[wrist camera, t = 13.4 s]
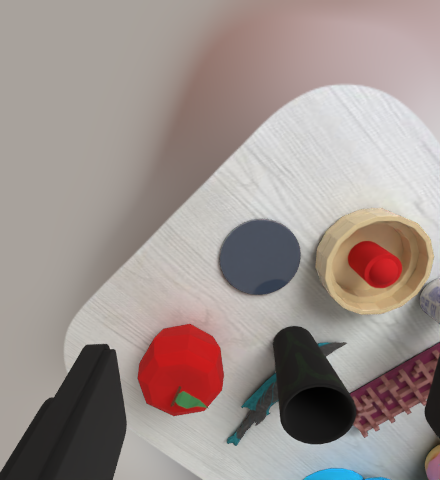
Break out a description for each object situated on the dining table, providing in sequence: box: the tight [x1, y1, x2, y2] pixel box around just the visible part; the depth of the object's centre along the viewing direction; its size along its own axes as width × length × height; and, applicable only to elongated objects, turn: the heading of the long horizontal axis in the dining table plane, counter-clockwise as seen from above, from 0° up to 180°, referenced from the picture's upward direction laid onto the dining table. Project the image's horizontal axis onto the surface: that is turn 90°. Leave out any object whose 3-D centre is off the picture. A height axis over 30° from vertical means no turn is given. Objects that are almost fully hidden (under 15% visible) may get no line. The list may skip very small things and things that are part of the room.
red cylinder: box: [348, 241, 402, 288], centre depth 35 cm, size 4×4×6 cm
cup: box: [273, 326, 356, 444], centre depth 37 cm, size 8×8×12 cm
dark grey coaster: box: [220, 219, 301, 295], centre depth 38 cm, size 10×10×1 cm
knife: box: [227, 342, 347, 446], centre depth 45 cm, size 24×1×5 cm
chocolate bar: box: [350, 343, 440, 438], centre depth 44 cm, size 7×19×2 cm, turn 128°
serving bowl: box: [315, 208, 434, 315], centre depth 37 cm, size 12×12×4 cm
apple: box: [138, 324, 224, 416], centre depth 38 cm, size 11×11×10 cm
